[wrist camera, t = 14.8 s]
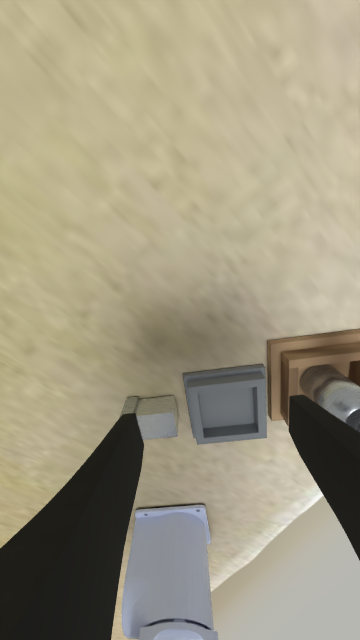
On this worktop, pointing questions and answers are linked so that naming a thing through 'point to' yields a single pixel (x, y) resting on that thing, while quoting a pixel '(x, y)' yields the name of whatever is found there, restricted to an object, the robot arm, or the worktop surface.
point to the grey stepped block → (154, 416)
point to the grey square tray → (227, 404)
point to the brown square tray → (307, 364)
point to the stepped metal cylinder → (333, 393)
